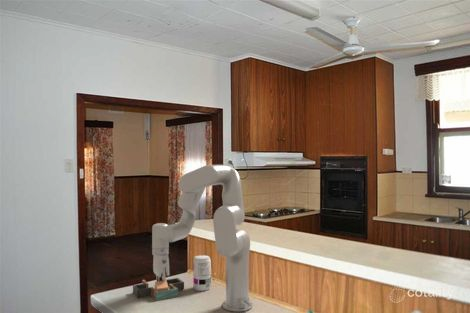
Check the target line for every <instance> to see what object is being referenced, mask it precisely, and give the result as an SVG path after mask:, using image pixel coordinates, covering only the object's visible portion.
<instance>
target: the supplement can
mask: <svg viewBox="0 0 470 313" xmlns="http://www.w3.org/2000/svg"><path fill="white" fill-rule="evenodd" d="M193 258H194V259H193V260H192V262H193V264H192V265H193V266H192V267H193V269H192V270H193V275H192V276H193V289H194V290H195V291H198V292H205V291H206V292H207V291H208V290H210V289H211V287H212V284H211V283H212V281H211V280H212V275H211V274H212V270H211V268H212V266H211V264H212V263H211V262H212V260H211V258H210V256H209V255H204V254H200V255H196V256H194V257H193Z"/></svg>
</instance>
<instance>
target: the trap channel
mask: <svg viewBox="0 0 470 313" xmlns="http://www.w3.org/2000/svg"><path fill="white" fill-rule="evenodd" d="M166 280H167V284H168V290H165V291H159V292H158V291H156V290H155V287H153V286H149V282H147V280H145V279H142V280H141V281H142V282H141V283H138V284H134V285H132V293H133V295H134V296H135V298H136V299H141V298H146V296H147V297H151V298H153V299H154V301H156V302H158V301H157V300H159V301H162V299H164V300H168V299H167V298H169V299H173V298H178V297H179V292H180V291H184V290H185V281H183V280H182V279H180V278H178V277H177V278H176V277H175V278H170V279H166ZM183 289H184V290H183ZM179 290H180V291H179Z"/></svg>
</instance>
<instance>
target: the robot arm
mask: <svg viewBox="0 0 470 313" xmlns="http://www.w3.org/2000/svg"><path fill="white" fill-rule="evenodd" d="M219 185H221V186H222V190H221V191H222V192H221V199H222V205H221V206H220V207H218V208H217V209H216V210H215V212H214V213H213V218H212V219H213V220H212V221H213V222H212V223H213V232H214V242H215V247H216V250H217V252H218V254H219V255H220V256H221V257H223V258H225V300H224V301H223V302H222V304H221V305H222V308H223V309H224V310H226V311H229V312H235V313H236V312H237V313H238V312H247V311H248V310H251V309H252V308H253V307H254V306H253V305H254V304H253V301H251V300H250V294H249V292H250V291H249V290H250V288H249V287H250V284H249V283H250V282H249V280H250V279H249V274H250V273H249V271H250V268H249V266H250V264H249V262H250V261H249V260H250V251H251V238H250V236H249V234H248V232H246V230H244V229H240V228H239V229H238V228H237V227H238V226H240V225H242V224H243V223H244V221H245V215H246V214H245V208H244V199H243V191H242V180H241V177H240V174H239V173H238V171H237V170H236V169H235V168H234V167H232V166H229V165H226V164H206V165H203V166H201V167H198V168H196V169H194V170H192V171H189V172H187V173H185V174H183V175H182V176H181V177H180V178H179V181H178V188H179V190H180V192H181V195H180V197H179V199H178V200H177V205H178V206H179V208H180V209H182V215H181V217H180V219H179V221H178V222H177V223H173V224H167V223H164V222H158V223H155V224H153V225H152V228H151V230H152V231H151V233H152V235H151V238H152V239H151V241H152V242H151V243H152V244H151V250H152V251H151V252H152V253H151V254H152V256H153V257H152V258H153V259H152V260H153V261H152V263H153V264H152V270H153V273H154V275H155V278H156V279H155V280H156V282H157V281H165V280H167V278H166V277H169V276H170V259H169V254H170V252H169V251H170V249H169V248H170V245H169V244H170V243H174V242H177V241H179V240H183V239H185V238H187V237H188V236H189V234H191V231H192V229H193V227H194V225H195V223H196V222H195V221H196V214H197V212H196V209H197V207H198V205H199V203H200V201H201V199H202V196H203V194H204V192H205V190H206V188H207V187H211V186H219Z"/></svg>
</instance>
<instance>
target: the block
mask: <svg viewBox="0 0 470 313" xmlns="http://www.w3.org/2000/svg"><path fill="white" fill-rule="evenodd" d="M167 280H168V279H166V280H165V281H157V280H156V281H154V282H155V283H154V289H155V290H156V291H158V292H159V291H165V290H169V287H168V284H167Z"/></svg>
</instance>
